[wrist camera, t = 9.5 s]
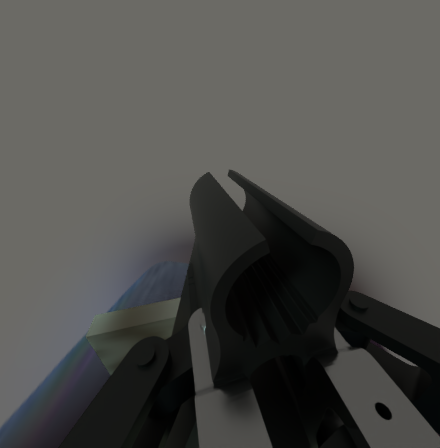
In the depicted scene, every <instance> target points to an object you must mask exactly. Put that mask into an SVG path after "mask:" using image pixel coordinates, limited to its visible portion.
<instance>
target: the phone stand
mask: <svg viewBox="0 0 440 448" xmlns="http://www.w3.org/2000/svg"><path fill="white" fill-rule="evenodd" d="M228 176H229V177H230V178H231V179H232V180H233V181H235V182H236V183H237V184H238V185H239V186H241V187H242V188H243V189H244V191H245V194H246V203H245V207H244V209H243V211H242V210H241V209H240V208H239V207H238V206H237V205H236V203H235V202H234V201H233V200H232V199H231V198H230V196H229V195H228V194H227V193H226V192H225V190H224V189H223V188H222V187H221V186H220V184H219V183H218V182H217V181H216V180H215V178H214V177H213V176H212V175H211V174H210V173H209V172H208V173H206V174H204V175H203V176H202V177H201V178H200V179H199V180H198V181H197V182H196V183H195V185H194V187H193V189H192V191H191V195H190V208H191V214H192V219H193V224H194V230H195V235H196V236H195V243H194V247H193V251H192V255H191V259H190V263H189V266H190V264H191V263H192V270H193V278H194V287H195V296H196V304H197V310H198V309H200V308H202V314H203V313H204V316H205V323H206V328H205V334H206V341H207V348H208V355H209V362H210V369H211V376H212V381H213V382H215V381H218V380H221V379H225V378H228V377H231V376H235V375H238V374H241V373H244V374H245V376H247V377H248V379H249V381H250V383H251V386H252V389H253V391H254V394H255V397H256V400H257V403H258V406H259V409H260V412H261V415H262V418H263V421H264V424H265V427H266V430H267V433H268V436H269V439H270V442H271V445H272V448H311V445H310V443H309V440H308V438H307V435H306V433H305V430H304V427H303V424H302V421H301V418H300V414H299V408H298V403H297V399H296V397H295V394H294V392H293V389H292V387H291V384H290V382H289V379H288V377H287V375H286V372H285V370H284V367H283V365H282V363H281V360H280V358H279V356H281V355H292V357H293V359H294V361H295V363H296V365H297V367H298V369H299V371H300V373H301V375H302V377H303V379H304V381H305V382H306V380H307V373H306V369H305V362H306V358H307V354H311V353H315V352H318V351H322V350H326V349H329V348H333V347H336V344H335V339H334V328H335V322H336V318H337V314H338V312H339V309H340V306H341V304H342V302H343V300H344V298H345V296H346V294H347V292H348V290H349V288H350V285H351V282H352V278H353V271H354V263H353V258H352V254H351V252H350V250H349V248H348V247H347V246H346V245H345V243H344V242H343V241H342V240H341V239H339V238H338V237H337V236H335V235H333V234H331V233H330V232H329V231H327V230H326V229H324V228H323V227H321V226H319V225H318V224H316V223H314V222H313V221H312V220H310V219H309V218H307V217H305V216H304V215H302V214H301V213H299V212H298V211H296V210H294V209H293V208H291V207H290V206H288V205H287V204H285V203H284V202H282V201H281V200H279V199H278V198H276V197H274V196H273V195H271V194H270V193H268V192H267V191H265V190H263V189H262V188H260V187H259V186H257V185H256V184H254V183H253V182H251V181H249V180H248V179H246V178H245V177H243V176H242V175H240V174H239V173H237V172H235V171H233V170H229V173H228ZM188 268H189V267H188ZM189 318H190V298H189V285H188V273H187V275H186V279H185V283H184V287H183V291H182V295H181V299H180V303H179V307H178V311H177V315H176V319H175V323H174V327H173V331H172V335H171V336H173V335H174V334H176V333H178V332H179V331H180V330H181V329H183V328H184V326H185V325H186V324H187V322H188V320H189ZM164 448H200V447H199V438H198V428H197V418H196V408H195V390H194V393H193V396H192V397H191V398H189V399H188V400H187V401H185V402H184V403H183V404H181V407H180V409H179V412H178V414H177V417H176V419H175V422H174V424H173V427H172V429H171V432H170V434H169V437H168V439H167V442H166V444H165V447H164Z"/></svg>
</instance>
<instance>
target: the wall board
mask: <svg viewBox="0 0 440 448" xmlns="http://www.w3.org/2000/svg"><path fill="white" fill-rule="evenodd" d="M180 299H181V298H176V299H171V300H167V301H162V302H157V303H152V304H147V305H143V306H138V307H133V308H128V309H123V310H119V311H114V312H109V313H104V314H100V315H95V317H94V319H93V322H92V324H91V326H90V328H89V331H88V333H87V335H86V338H87V339H88V341H89V343H90V344H91V346H92V347H93V349H94V350H95V352H96V353H97V355H98V357H99V358H100V360H101V361H102V363H103V364H104V366H105V367H106V369H107V370H108V372H109V374H110V375H112V374H113V372H114V371H115V369H116V368H117V367H118V365H119V364H120V363H121V361H122V360H123V358H124V357H125V356H126V354H127V353H128V352H129V350H130V349H131V348H132V347H133V346H134V345H135V344H136V343H137V342H139V341H140V340H142V339H144V338H147V337H150V336H158V337H161V338H163V339H164V340H166V339H167V338H169V337H171V335H172V331H173V327H174V323H175V319H176V315H177V311H178V307H179V303H180Z"/></svg>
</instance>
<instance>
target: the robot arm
mask: <svg viewBox="0 0 440 448" xmlns="http://www.w3.org/2000/svg"><path fill="white" fill-rule="evenodd" d="M187 273H188V285H189V298H190V318H189V320H188V322H187V324H186V325H185V326H184V328H183V329H181V330H180V331H179V332H178V333H176V334H174V335H173V336H171V337H169V338H167V339H166V340H164V339H163V338H161V337H158V336H150V337H147V338H144V339H142V340H140V341H139V342H137V343H136V344H135V345H134V346H133V347H132V348H131V349H130V350H129V352H128V353H127V354H126V356H125V357H124V358H123V360H122V361H121V363H120V364H119V365H118V367H117V368H116V369H115V371H114V372H113V374H112V375H111V376H110V378H109V379H108V380H107V382H106V383H105V385H104V386H103V387H102V389H101V390H100V391H99V393H98V394H97V395H96V397H95V398H94V400H93V401H92V402H91V404H90V405H89V406H88V408H87V409H86V411H85V412H84V413H83V415H82V416H81V417H80V419H79V420H78V422H77V423H76V424H75V426H74V427H73V428H72V430H71V431H70V432H69V434H68V435H67V437H66V438H65V439H64V441H63V442H62V443H61V445H60V446H59V448H164V447H165V444H166V442H167V439H168V437H169V434H170V432H171V429H172V427H173V424H174V422H175V419H176V417H177V414H178V412H179V409H180V407H181V404H183V403H184V402H185V401H187V400H188V399H189V398H191V397H192V396H193V393H194V390H195V408H196V418H197V428H198V438H199V447H200V448H272V445H271V442H270V439H269V436H268V433H267V430H266V427H265V424H264V421H263V418H262V415H261V412H260V409H259V406H258V403H257V400H256V397H255V394H254V391H253V389H252V386H251V383H250V381H249V379H248V377H247V376H245V374H244V373H241V374H238V375H235V376H231V377H228V378H225V379H221V380H218V381H215V382H213V381H212V376H211V369H210V362H209V355H208V348H207V341H206V334H205V328H206V323H205V316H204V313H203V314H202V308H200V309H198V310H197V304H196V296H195V287H194V278H193V270H192V263H191V264H190V266H189V268H188V270H187ZM334 339H335V344H336V347H333V348H329V349H326V350H322V351H318V352H315V353H311V354H307V358H306V362H305V369H306V373H307V380H306V382H305V381H304V379H303V377H302V375H301V373H300V371H299V369H298V367H297V365H296V363H295V361H294V359H293V357H292V355H281V356H279V358H280V360H281V363H282V365H283V367H284V370H285V372H286V375H287V377H288V379H289V382H290V384H291V387H292V389H293V392H294V394H295V397H296V399H297V403H298V408H299V414H300V418H301V421H302V424H303V427H304V430H305V433H306V435H307V438H308V440H309V443H310V445H311V448H440V437H439V435H440V328H438V327H435V326H433V325H431V324H429V323H426V322H424V321H422V320H420V319H417V318H415V317H413V316H411V315H409V314H406V313H404V312H402V311H399V310H397V309H395V308H393V307H390V306H388V305H386V304H384V303H382V302H379V301H377V300H375V299H373V298H371V297H368V296H366V295H364V294H361V293H359V292H355V291H348V292H347V294H346V296H345V298H344V300H343V302H342V304H341V306H340V309H339V312H338V314H337V318H336V322H335V328H334ZM371 339H372V340H373V341H375V342H377V343H379V344H380V345H382V346H384V347H386V348H387V349H389V350H391V351H393V352H394V353H396V354H398V355H400V356H402V357H403V358H405V359H407V360H409V361H410V362H412V363H414V364H416V365H417V366H418V367H416V366H411V365H409V364H407V363H405V362H403V361H401V360H399V359H398V358H396V357H394V356H393V355H391V354H389V353H387V352H386V351H384V350H382V349H381V348H379V347H377V346H375V345H374V344H372V343H370V340H371ZM436 432H437V433H438V434H439V435H438V434H437V433H436Z"/></svg>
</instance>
